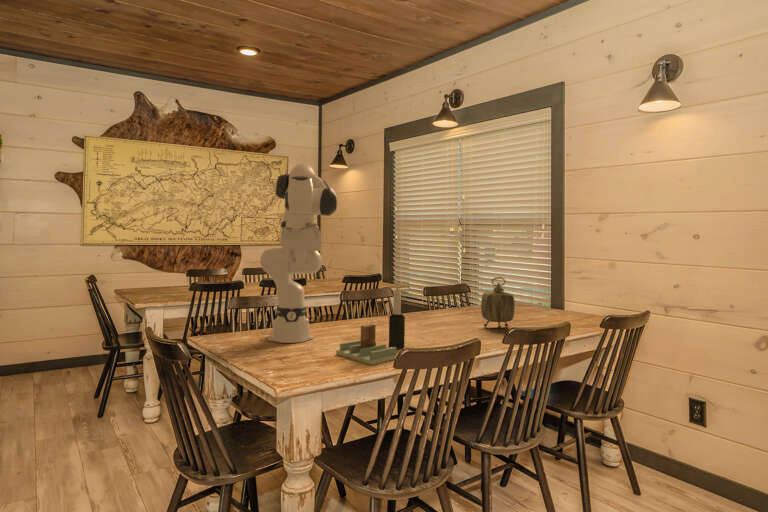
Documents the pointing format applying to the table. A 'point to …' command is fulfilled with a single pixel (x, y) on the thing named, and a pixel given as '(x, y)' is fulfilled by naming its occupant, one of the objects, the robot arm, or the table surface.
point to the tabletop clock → (497, 305)
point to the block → (367, 336)
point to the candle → (396, 323)
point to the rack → (367, 352)
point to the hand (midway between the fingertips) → (300, 263)
